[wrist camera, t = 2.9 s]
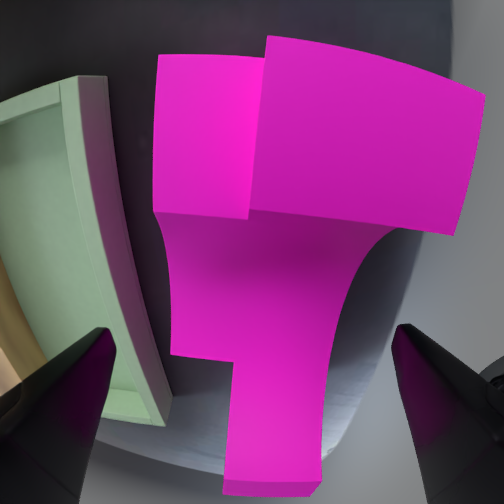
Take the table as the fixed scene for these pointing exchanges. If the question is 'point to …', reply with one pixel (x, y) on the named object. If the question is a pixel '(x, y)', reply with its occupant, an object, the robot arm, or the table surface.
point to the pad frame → (76, 238)
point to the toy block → (292, 220)
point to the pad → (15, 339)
